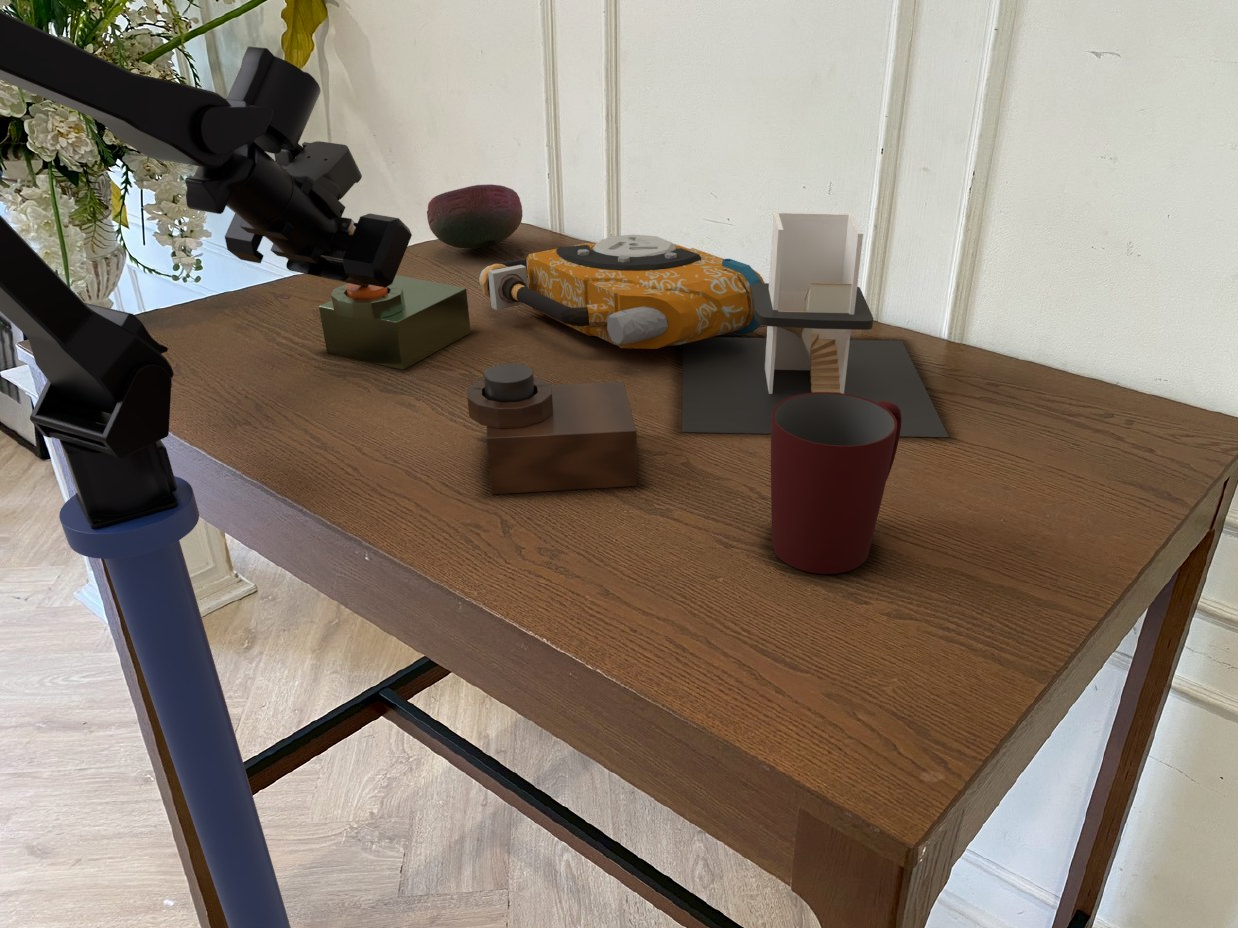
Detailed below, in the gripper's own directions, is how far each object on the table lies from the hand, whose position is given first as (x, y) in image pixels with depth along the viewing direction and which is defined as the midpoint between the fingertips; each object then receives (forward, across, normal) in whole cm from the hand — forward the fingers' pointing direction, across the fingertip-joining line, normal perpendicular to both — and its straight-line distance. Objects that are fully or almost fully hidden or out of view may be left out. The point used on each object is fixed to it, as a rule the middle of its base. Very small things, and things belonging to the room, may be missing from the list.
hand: (366, 282), depth 103 cm
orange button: (+2, 0, +2) cm, 2 cm away
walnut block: (-3, -30, +14) cm, 33 cm away
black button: (-9, -26, +11) cm, 30 cm away
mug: (-4, -55, +15) cm, 57 cm away
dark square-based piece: (+16, -43, -4) cm, 46 cm away
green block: (+8, 0, +3) cm, 9 cm away
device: (+19, -18, -8) cm, 28 cm away
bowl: (+29, +10, -18) cm, 36 cm away
